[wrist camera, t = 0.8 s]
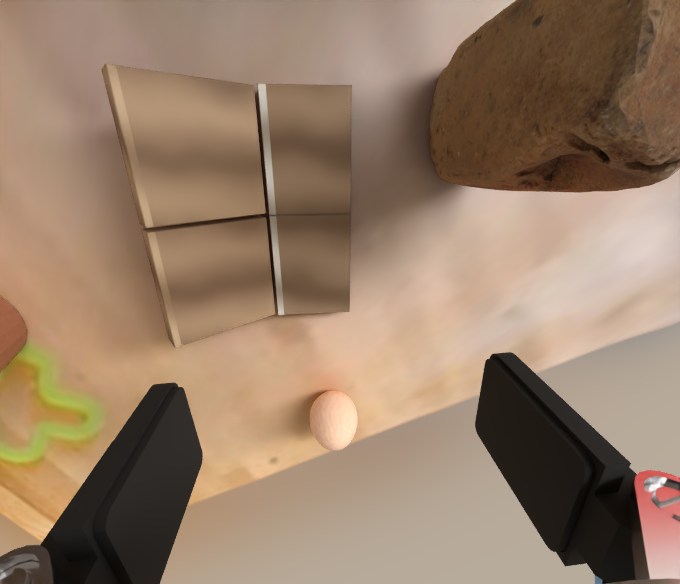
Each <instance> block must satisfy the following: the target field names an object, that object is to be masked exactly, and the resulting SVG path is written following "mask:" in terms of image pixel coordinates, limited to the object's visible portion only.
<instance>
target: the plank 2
mask: <svg viewBox="0 0 680 584" xmlns="http://www.w3.org/2000/svg"><path fill="white" fill-rule="evenodd" d="M142 233H143V237H144V241H145V245H146V249H147V253H148V257H149V261H150V265H151V269H152V273H153V277H154V281H155V285H156V289H157V293H158V297H159V301H160V305H161V309H162V313H163V317H164V321H165V325H166V329H167V333H168V336H169V340H170V341H171V343H172V344H173V346H174V347H175V348H177V347H180V346H182V345H185V344H188V343H191V342H194V341H197V340H200V339H203V338H205V337H208V336H211V335H214V334H217V333H220V332H223V331H226V330H229V329H232V328H235V327H238V326H241V325H244V324H247V323H250V322H253V321H256V320H259V319H262V318H265V317H268V316H271V315H274V314H275V306H274V296H273V285H272V274H271V264H270V253H269V242H268V232H267V221H266V217H262V216H258V215H254V216H245V217H237V218H229V219H220V220H212V221H204V222H195V223H187V224H179V225H170V226H162V227H154V228H145V229H142Z"/></svg>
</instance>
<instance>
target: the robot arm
mask: <svg viewBox="0 0 680 584" xmlns="http://www.w3.org/2000/svg"><path fill="white" fill-rule="evenodd" d="M475 427H476V431H477V434H478V436H479V437H480V439H481V440H482V442H483V444H484V445H485V447H486V449H487V450H488V452H489V453H490V455H491V457H492V458H493V460H494V461H495V463H496V465H497V466H498V468H499V469H500V471H501V473H502V474H503V476H504V478H505V479H506V481H507V482H508V484H509V486H510V487H511V489H512V490H513V492H514V494H515V495H516V497H517V499H518V500H519V502H520V503H521V505H522V507H523V508H524V510H525V512H526V513H527V515H528V516H529V518H530V520H531V521H532V523H533V524H534V526H535V528H536V529H537V531H538V533H539V534H540V536H541V537H542V539H543V541H544V542H545V544H546V545H547V546H548V548H549V549H550V550H552V551H553V552H557V554H558V555H559V557H560V559H561V560H562V562H563V564H564V565H565V566H571V565H577V564H584V563H587V564H588V566H589V567H590V569H591V570H592V571H593V573H594V574H595V584H680V478H679V477H677V476H674V475H672V474H668V473H665V472H661V471H653V470H646V471H642V472H639V473H638V474H636V473H635V472H634V471H633V470H631V469H630V468H629V466H630V464H631V463H630V462H629V461H628V460H627V459H625V457H624V456H623V455H621V454H620V453H619V452H618V451H617V450H616V449H615V448H614V447H613V446H612V445H611V444H610V443H609V442H608V441H607V440H605V439H604V438H603V437H602V436H601V435H600V434H599V433H598V432H597V431H596V430H595V429H594V428H593V427H592V426H591V425H589V424H588V423H587V422H586V421H585V420H584V419H583V418H582V417H581V416H580V415H579V414H578V413H577V412H575V411H574V410H573V409H572V408H571V407H570V406H569V405H568V404H567V403H566V402H565V401H564V400H563V399H562V398H561V397H559V395H557V394H556V393H555V392H554V391H553V390H552V389H551V388H550V387H549V386H548V385H547V384H546V383H545V382H544V381H542V380H541V379H540V378H539V377H538V376H537V375H536V374H535V373H534V372H533V371H532V370H531V369H530V368H529V367H528V366H527V365H525V364H524V363H523V362H522V361H521V360H520V359H519V358H518V357H517V356H516V355H515V354H513V353H510V352H509V353H498V354H492V355H491V356H490V359H487V360H486V362H485V367H484V373H483V379H482V385H481V391H480V397H479V403H478V410H477V415H476V422H475ZM202 457H203V456H202V449H201V446H200V443H199V439H198V436H197V432H196V429H195V425H194V422H193V418H192V415H191V412H190V408H189V405H188V401H187V398H186V394H185V391H184V389H183V388H182V387H178V385H177V384H176V383H165V384H155V385H153V386H152V387H151V388H150V389H149V391H148V392H147V394H146V395H145V396H144V398H143V399H142V401H141V402H140V404H139V405H138V407H137V408H136V409H135V411H134V412H133V414H132V415H131V417H130V418H129V419H128V421H127V422H126V424H125V425H124V427H123V428H122V430H121V431H120V432H119V434H118V435H117V437H116V438H115V440H114V441H113V442H112V443H111V444H110V446H109V447H108V449H107V450H106V452H105V453H104V455H103V456H102V457H101V459H100V460H99V462H98V463H97V465H96V466H95V467H94V469H93V470H92V472H91V473H90V475H89V476H88V477H87V479H86V480H85V482H84V483H83V485H82V486H81V488H80V489H79V490H78V492H77V493H76V495H75V496H74V498H73V499H72V500H71V502H70V503H69V505H68V506H67V508H66V509H65V510H64V512H63V513H62V515H61V516H60V518H59V519H58V520H57V522H56V523H55V525H54V526H53V528H52V529H51V531H50V532H49V533H48V535H47V536H46V538H45V539H44V541H43V542H42V543H41V545H27V546H24V547H21V548H17V549H14V550H12V551H10V552H8V553H6V554H4V555H2V556H1V557H0V584H160V581H161V578H162V575H163V572H164V570H165V567H166V564H167V561H168V558H169V555H170V553H171V550H172V547H173V544H174V541H175V538H176V536H177V533H178V530H179V527H180V524H181V521H182V519H183V516H184V513H185V510H186V507H187V504H188V502H189V499H190V496H191V493H192V490H193V487H194V484H195V482H196V479H197V476H198V473H199V470H200V467H201V464H202Z"/></svg>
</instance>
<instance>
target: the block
mask: <svg viewBox="0 0 680 584" xmlns="http://www.w3.org/2000/svg"><path fill="white" fill-rule="evenodd" d="M429 130H430V134H431V138H430V150H431V158H432V161H433V163H434V164H435V165H436V168H435V171H436V173H437V174H438V176H439V177H440V178H441V179H443V180H446V181H448V182H451V183H454V184H459V185H464V186H469V187H477V188H486V189H494V190H508V191H548V192H591V191H618V190H623V189H630V188H640V187H643V186H649V185H652V184H655V183H657V182H660V181H662V180H664V179H667V178H669V177H670V176H671V175H672V174H674V173H675V172H676V171H677V170H679V169H680V0H516V1H515V2H513V3H512V4H511V5H509V6H508V7H507V8H505V9H504V10H503V11H501V12H500V13H499V14H497V15H496V16H495V17H494V18H492V19H491V20H489V21H488V22H486V23H485V24H484V25H483V26H481V27H480V28H479V29H478V30H477V31H476V32H475V33H473V34H472V35H471V36H470V37H469V38H467V39H466V40H465V41H463V42H462V44H461V45H460V46H459V47H458V48H457V50H456V52H455V53H454V55H453V57H452V59H451V61H450V63H449V64H448V66H447V67H446V68H445V69H444V70H443V71H442V73H441V74H440V76H439V79H438V82H437V85H436V89H435V93H434V97H433V103H432V108H431V113H430V128H429Z"/></svg>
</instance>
